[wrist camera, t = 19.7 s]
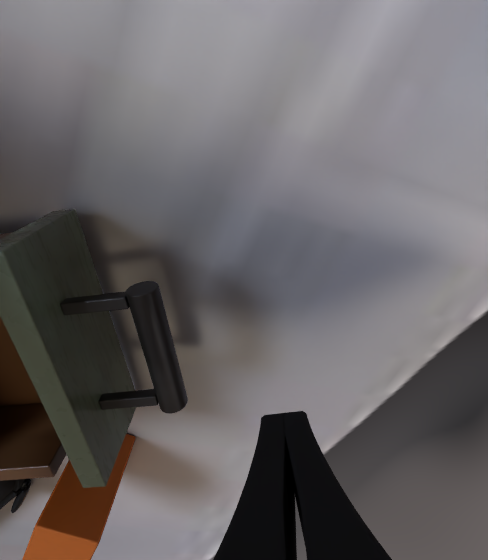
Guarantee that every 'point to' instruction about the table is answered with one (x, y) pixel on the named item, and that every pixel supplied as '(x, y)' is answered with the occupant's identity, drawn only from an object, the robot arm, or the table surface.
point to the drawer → (72, 355)
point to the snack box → (76, 514)
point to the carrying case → (14, 492)
